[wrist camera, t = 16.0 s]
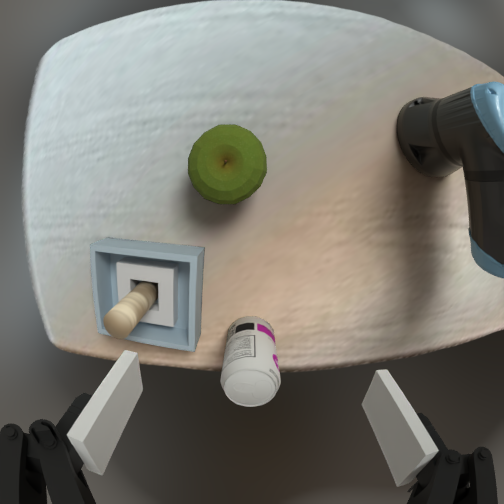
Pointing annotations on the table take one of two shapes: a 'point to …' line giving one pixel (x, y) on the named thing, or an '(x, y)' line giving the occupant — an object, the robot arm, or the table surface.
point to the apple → (227, 164)
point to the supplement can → (250, 362)
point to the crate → (152, 270)
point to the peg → (130, 309)
